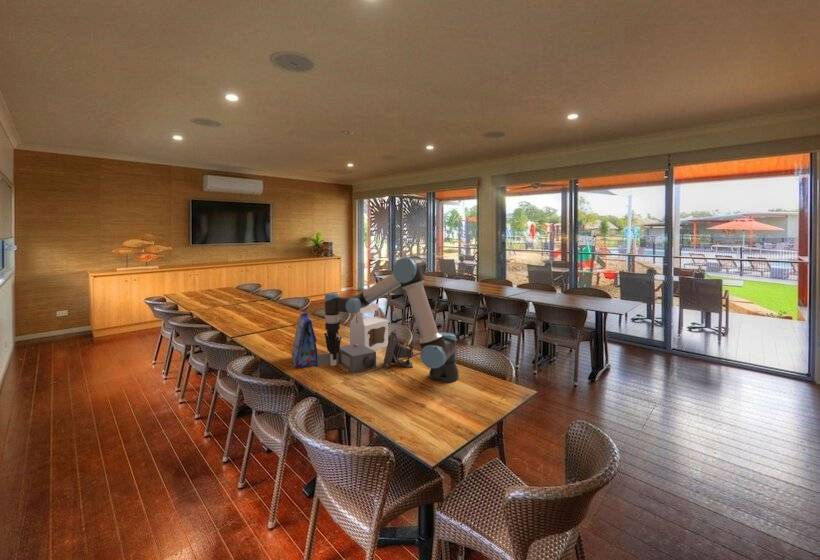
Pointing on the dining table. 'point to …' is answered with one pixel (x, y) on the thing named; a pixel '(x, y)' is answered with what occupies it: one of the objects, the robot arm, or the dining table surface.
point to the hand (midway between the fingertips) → (333, 365)
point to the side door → (327, 359)
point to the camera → (397, 352)
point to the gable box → (369, 328)
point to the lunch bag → (304, 343)
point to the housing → (357, 357)
